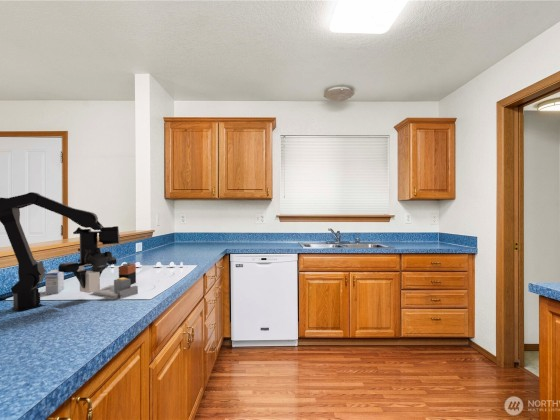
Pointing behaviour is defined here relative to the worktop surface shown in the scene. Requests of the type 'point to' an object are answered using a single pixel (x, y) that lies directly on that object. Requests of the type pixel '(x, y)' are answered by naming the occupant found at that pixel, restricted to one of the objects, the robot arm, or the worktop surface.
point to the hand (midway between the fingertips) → (89, 286)
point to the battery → (128, 272)
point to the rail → (120, 294)
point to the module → (91, 282)
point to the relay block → (121, 284)
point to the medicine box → (54, 282)
